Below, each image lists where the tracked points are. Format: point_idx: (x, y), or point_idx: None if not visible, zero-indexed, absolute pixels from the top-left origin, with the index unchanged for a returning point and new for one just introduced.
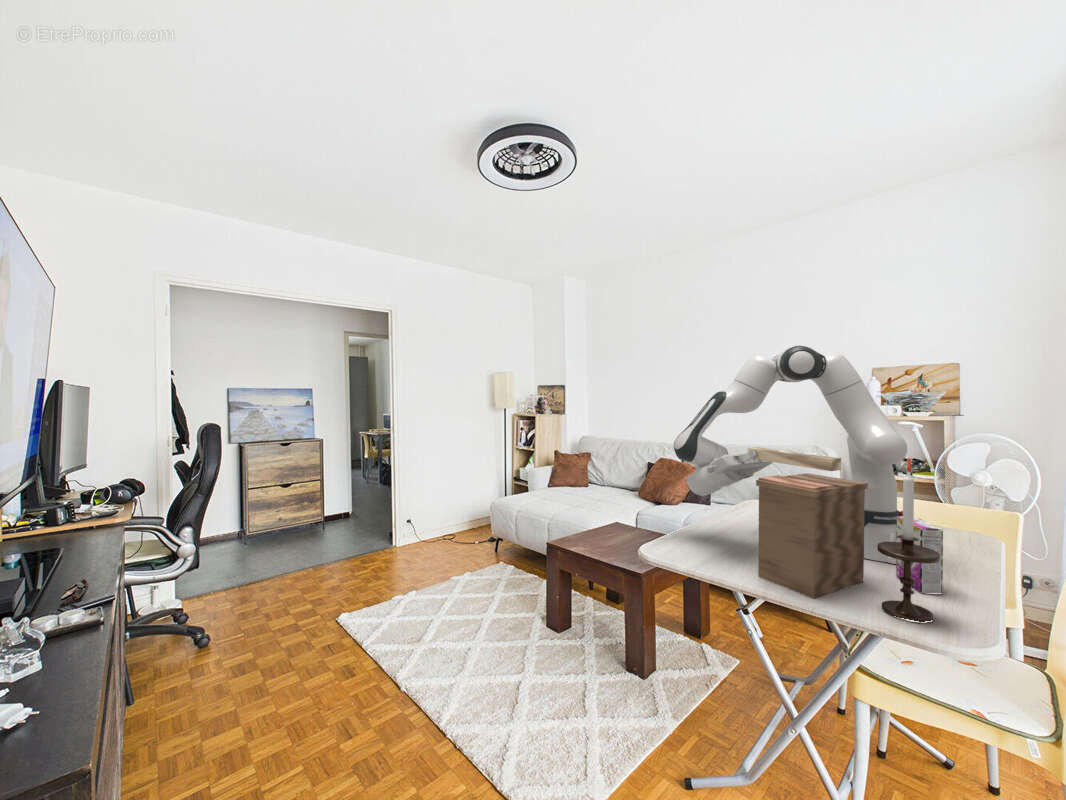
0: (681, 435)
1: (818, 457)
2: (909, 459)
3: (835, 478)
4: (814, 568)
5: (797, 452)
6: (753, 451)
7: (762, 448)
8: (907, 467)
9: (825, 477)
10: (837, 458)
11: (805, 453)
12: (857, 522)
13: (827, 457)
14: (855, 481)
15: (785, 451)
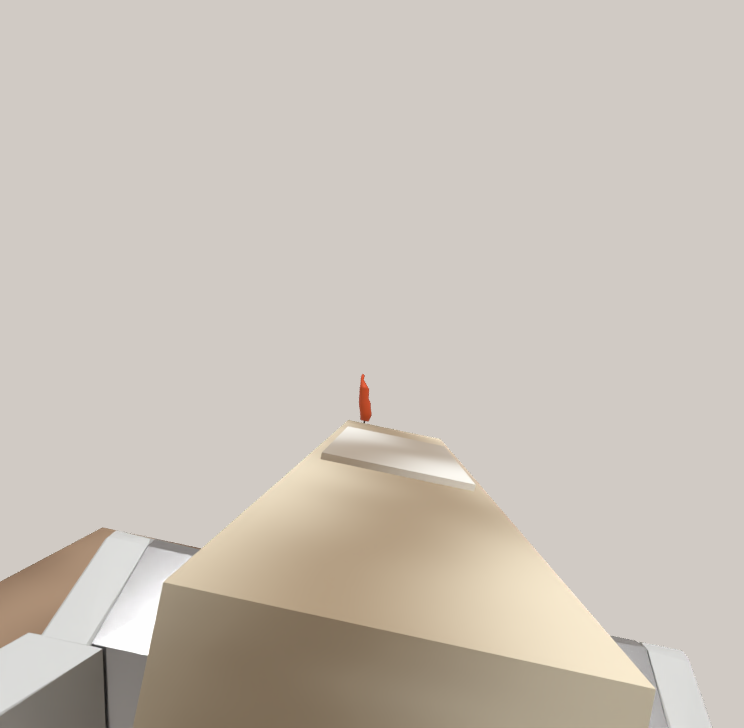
0: None
1: (446, 446)
2: (364, 381)
3: (44, 582)
4: None
5: (372, 445)
6: (671, 656)
7: (356, 540)
8: (369, 410)
9: (38, 609)
10: (381, 427)
11: (367, 438)
12: None
13: (395, 433)
14: (94, 545)
15: (412, 465)
